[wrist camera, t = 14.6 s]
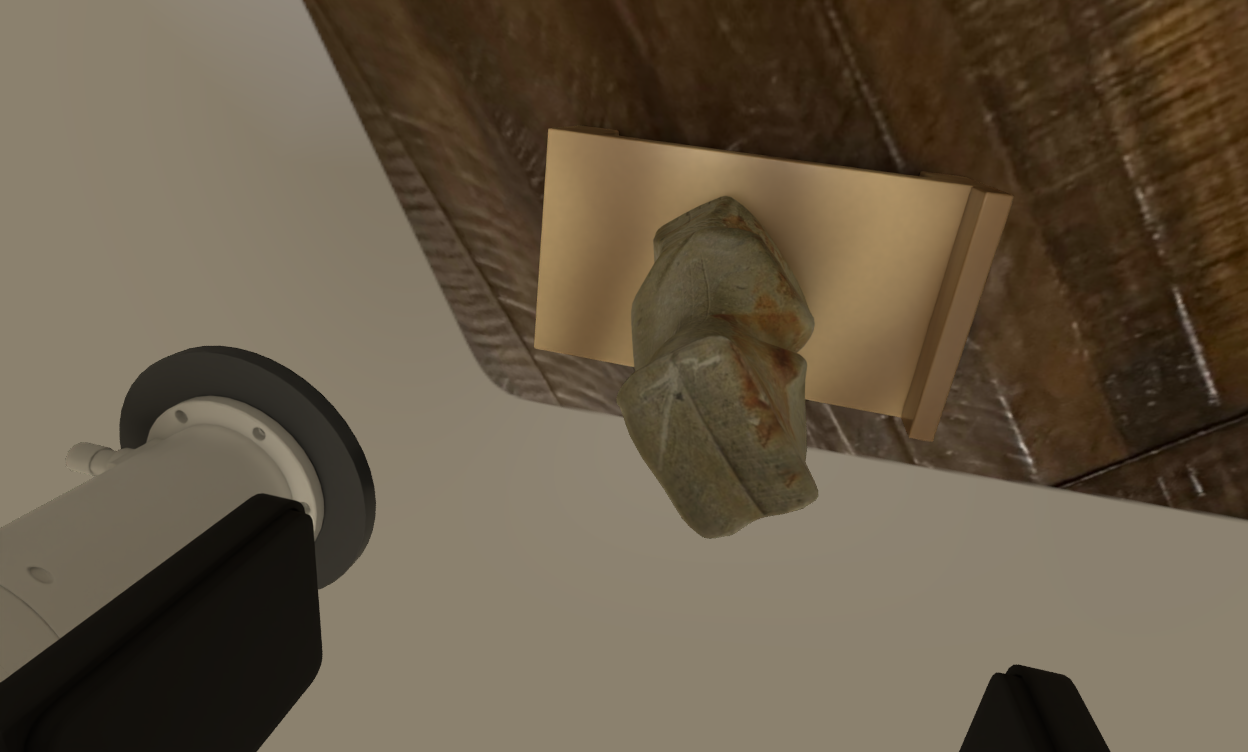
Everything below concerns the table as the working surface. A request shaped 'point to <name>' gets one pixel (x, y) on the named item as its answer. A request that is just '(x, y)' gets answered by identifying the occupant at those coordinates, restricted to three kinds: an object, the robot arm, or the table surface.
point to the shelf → (809, 242)
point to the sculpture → (721, 371)
